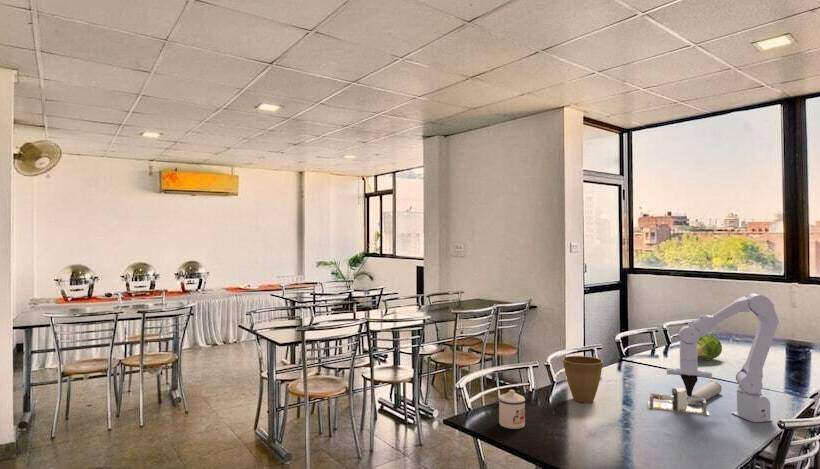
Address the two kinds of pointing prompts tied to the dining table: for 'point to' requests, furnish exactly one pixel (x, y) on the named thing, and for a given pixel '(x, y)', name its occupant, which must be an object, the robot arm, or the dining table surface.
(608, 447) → the dining table surface
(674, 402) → the dark gray slab
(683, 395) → the sleeve
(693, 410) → the rod rig
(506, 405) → the teacup with lid
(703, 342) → the lettuce
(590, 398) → the plant pot
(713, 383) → the tube
